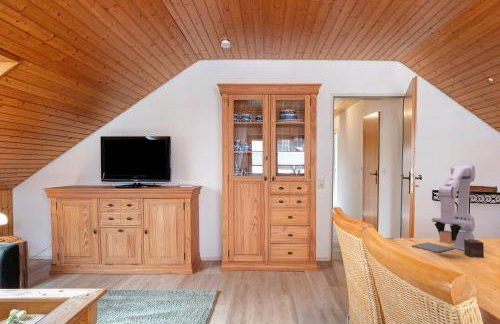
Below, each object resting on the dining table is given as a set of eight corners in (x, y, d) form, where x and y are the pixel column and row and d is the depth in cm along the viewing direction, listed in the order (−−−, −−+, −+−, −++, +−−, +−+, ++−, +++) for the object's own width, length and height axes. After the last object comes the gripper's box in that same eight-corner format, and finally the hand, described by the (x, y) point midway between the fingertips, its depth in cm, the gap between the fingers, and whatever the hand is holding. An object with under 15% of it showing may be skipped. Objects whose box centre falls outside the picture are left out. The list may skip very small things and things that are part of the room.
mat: (427, 243, 177) (427, 242, 177) (453, 249, 164) (453, 248, 164) (411, 246, 170) (411, 245, 170) (437, 253, 158) (437, 251, 158)
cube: (445, 240, 155) (445, 230, 155) (456, 242, 151) (456, 232, 151) (439, 241, 153) (439, 231, 153) (450, 244, 149) (450, 233, 149)
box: (484, 258, 150) (484, 242, 150) (469, 257, 151) (469, 241, 151) (477, 254, 155) (477, 239, 156) (463, 253, 157) (463, 238, 157)
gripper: (427, 209, 157) (428, 237, 157) (458, 213, 144) (459, 243, 144) (436, 208, 160) (436, 235, 160) (467, 212, 147) (467, 241, 147)
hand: (447, 239), depth 152 cm, fingers closed on cube, 5 cm apart
